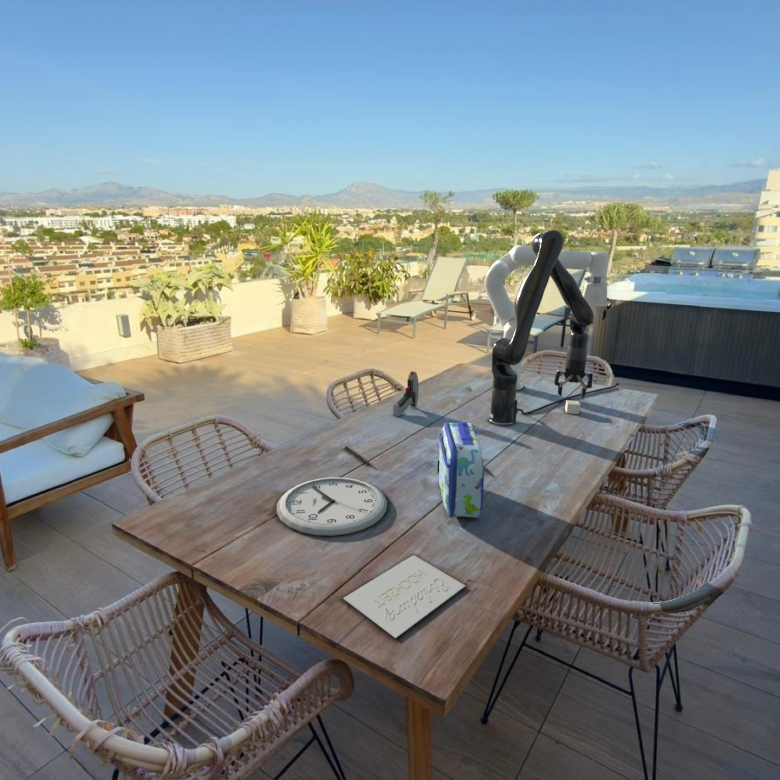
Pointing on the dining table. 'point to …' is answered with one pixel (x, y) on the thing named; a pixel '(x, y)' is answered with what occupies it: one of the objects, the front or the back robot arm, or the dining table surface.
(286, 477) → the dining table surface
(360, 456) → the brown thin rod
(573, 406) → the block
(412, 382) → the toy gun
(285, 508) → the wall clock
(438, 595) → the invitation card
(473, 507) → the lunch box
